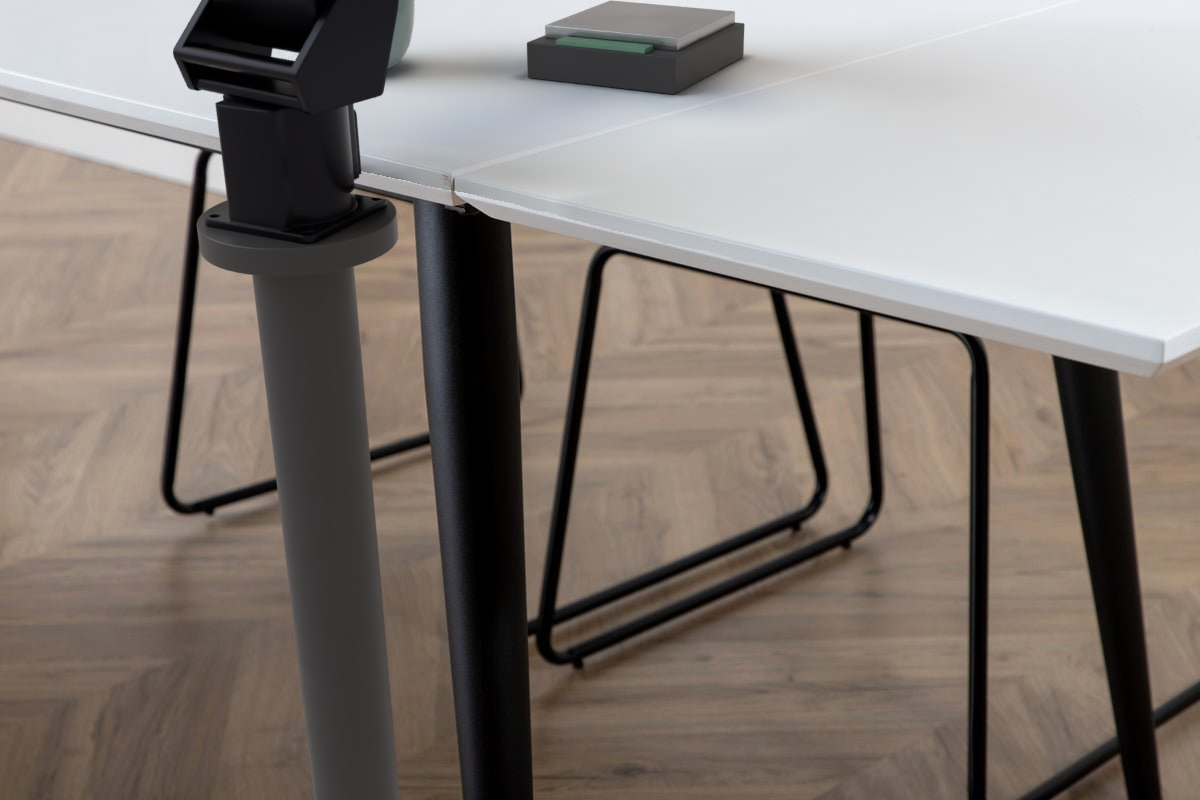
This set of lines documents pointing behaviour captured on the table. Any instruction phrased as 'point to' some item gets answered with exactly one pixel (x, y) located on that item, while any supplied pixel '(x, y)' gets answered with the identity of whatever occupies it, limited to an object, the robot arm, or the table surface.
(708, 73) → the kitchen scale
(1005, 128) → the table surface
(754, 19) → the table surface
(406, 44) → the cup
